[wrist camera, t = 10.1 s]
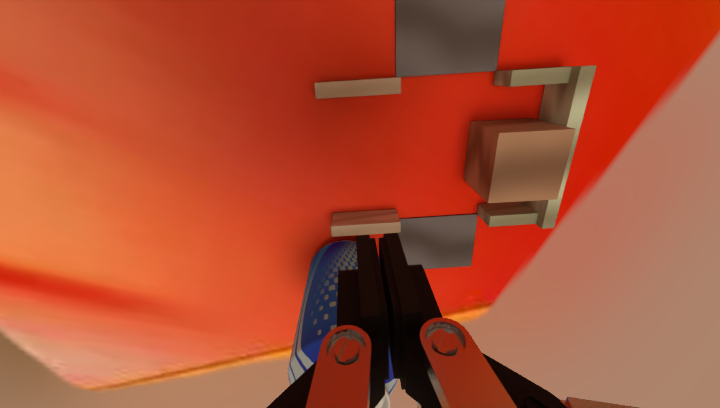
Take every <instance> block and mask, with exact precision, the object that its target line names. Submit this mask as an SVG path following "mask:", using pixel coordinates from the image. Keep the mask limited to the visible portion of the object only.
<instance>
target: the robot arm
mask: <svg viewBox="0 0 720 408" xmlns="http://www.w3.org/2000/svg"><path fill="white" fill-rule="evenodd" d="M356 249H357V264H358V269H352V270H339V271H338V293H337V328H334V329H333V330H331V331H330V332H329V333H328V334H327V335H326V336H325V337H324V339H323V341H322V344H321V347H320V351H319V355H318V359H317V361H316V362H315V363H314V364H313V365H311V366H310V367H309V368H308V369H307V370H306V371H305V372H304V373H303V374H302V375H301V376H300V377H299V378H298V379H297V380H296V381H294V382H293V383H292V384H291V385H290V386H289V387H288V388H287V389H286V390H285V391H284V392H283V393H282V394H281V395H280V396H279V397H278V398H276V399H275V400H274V401H273V402H272V403H271V404H270V405H269V406H268V407H267V408H375V407H376V406H377V405H378V403H379V402H380V401H381V399H382V398H383V397H384V395H385V380H389V351H390V357H391V364H392V370H393V376H394V379H400V382H401V387H402V389H405V391H406V393H407V394H408V395H409V396H411V397H412V398H413V399H414V400H416V404H417V408H638V407H631V406H625V405H618V404H611V403H605V402H598V401H591V400H585V399H578V398H572V397H567V399H566V401H565V400H559V399H558V398H557V397H555V396H554V395H553V394H551V393H550V392H548V391H547V390H545V389H543V388H542V387H540V386H538V385H536V384H535V383H533V382H531V381H530V380H528V379H526V378H524V377H523V376H521V375H519V374H518V373H516V372H514V371H512V370H511V369H509V368H507V367H506V366H504V365H502V364H500V363H499V362H497V361H495V360H494V359H492V358H490V357H488V356H487V355H485V354H483V353H482V352H481V351H480V349H479V348H478V346H477V345H476V343H475V342H474V340H473V339H472V337H471V335H470V334H469V332H468V331H467V330H466V329H465V328H464V327H463V326H462V325H461V324H459V323H458V322H456V321H454V320H451V319H448V318H442V315H441V313H440V310H439V307H438V305H437V302H436V300H435V297H434V295H433V292H432V289H431V287H430V284H429V282H428V279H427V276H426V274H425V271H424V269H423V266H422V265H421V264H417V265H408V263H407V260H406V257H405V254H404V251H403V247H402V244H401V241H400V238H399V235H398V233H388V234H384V237H383V238H379V259H378V254H377V248H376V242H375V238H370V237H369V235H361V236H356ZM379 263H380V265H379Z"/></svg>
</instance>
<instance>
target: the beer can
mask: <svg viewBox="0 0 720 408" xmlns="http://www.w3.org/2000/svg"><path fill="white" fill-rule="evenodd" d="M378 259H379V257H378ZM379 265H380V263H379ZM352 269H358V264H357V249H356V242H355V241H350V240H343V241H337V242H333V243H331V244H328V245H326V246H324V247H323V248H322V249H320V250H319V251H318V252H317V253H316V254H315V256H314V257H313V259H312V261H311V264H310V269H309V274H308V278H307V283H306V288H305V292H304V297H303V302H302V306H301V311H300V316H299V320H298V325H297V330H296V334H295V339H294V344H293V348H292V353H291V358H290V362H289V368H288V376H289V382H290V385H291V384H292V383H293V382H294V381H296V380H297V379H298V378H299V377H300V376H301V375H302V374H303V373H304V372H305V371H306V370H307V369H308V368H309V367H310V366H311V365H313V364H314V363H315V362H316V361H317V359H318V355H319V351H320V347H321V344H322V341H323V339H324V337H325V336H326V335H327V334H328V333H329V332H330V331H331V330H333V329H334V328H337V293H338V271H339V270H352ZM396 382H397V379H394V376H393V370H392V364H391V357H390V351H389V380H385V395H384V397H383V398H382V399H381V401H380V402H379V403H378V405H377V406H376V407H375V408H390V403H391V402H390V396H391V394H392V392H393V390H394V387H395V385H396Z"/></svg>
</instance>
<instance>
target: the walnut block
mask: <svg viewBox="0 0 720 408" xmlns="http://www.w3.org/2000/svg"><path fill="white" fill-rule="evenodd" d="M575 131H576V129H574V128H570V127H566V126H562V125H558V124H554V123H550V122H546V121H542V120H538V119H534V118H524V119H505V120H486V121H470V126H469V135H468V144H467V153H466V162H465V171H464V181H465V182H466V183H467V184H468V185H469V186H470V187H472V188H473V189H474V190H475V191H476V192H477V193H478V194H479V195H480V196H481V197H482V198H483V199H484V200H485V201H486V202H487V203H501V202H520V201H538V200H556V199H557V198H558V194H559V190H560V187H561V183H562V179H563V175H564V172H565V168H566V164H567V161H568V157H569V153H570V149H571V146H572V142H573V138H574V134H575Z"/></svg>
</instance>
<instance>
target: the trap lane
mask: <svg viewBox="0 0 720 408" xmlns="http://www.w3.org/2000/svg"><path fill="white" fill-rule="evenodd" d="M504 8H505V0H395V43H396V77H391V78H375V79H360V80H344V81H328V82H317V83H314V86H315V95H316V99H323V98H339V97H354V96H370V95H386V94H401V78H400V77H408V76H423V75H439V74H455V73H471V72H486V71H495V77H494V85H496V86H509V87H512V86H527V85H543V84H545V87H544V92H543V97H542V102H541V107H540V112H539V117H538V120H542V121H546V122H550V123H554V124H558V125H562V126H566V127H570V128H574V129H576V131H575V134H574V138H573V142H572V146H571V149H570V153H569V157H568V161H567V164H566V168H565V172H564V175H563V179H562V183H561V187H560V190H559V194H558V198H557V199H556V200H538V201H520V202H501V203H482V204H478V209H477V214H462V215H446V216H431V217H415V218H400V219H399V216H398V213H397V210H396V209H389V210H373V211H358V212H342V213H332V220H331V234H332V237H337V236H352V235H368V234H384V233H398V235H399V238H400V241H401V244H402V247H403V251H404V254H405V257H406V260H407V263H408V265H417V264H421V265H422V266H423V269H431V268H447V267H462V266H471V262H472V254H473V247H474V239H475V231H476V224H477V216H478V215H479V216H480V217H481V219H482V220H483V221H484V222H485V223H486V224H487V225H488V226H489V227H493V226H508V225H524V224H537V225H538V226H539V227H541V228H542V229H543V228H554V226H555V222H556V218H557V215H558V211H559V207H560V203H561V199H562V196H563V192H564V188H565V184H566V180H567V176H568V173H569V169H570V165H571V161H572V157H573V154H574V150H575V146H576V142H577V138H578V135H579V131H580V127H581V123H582V119H583V115H584V112H585V108H586V104H587V100H588V96H589V93H590V89H591V85H592V81H593V77H594V73H595V70H596V66H597V65H595V66H566V67H549V68H533V69H517V70H501V71H496V70H497V62H498V54H499V47H500V39H501V31H502V24H503V16H504Z"/></svg>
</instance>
